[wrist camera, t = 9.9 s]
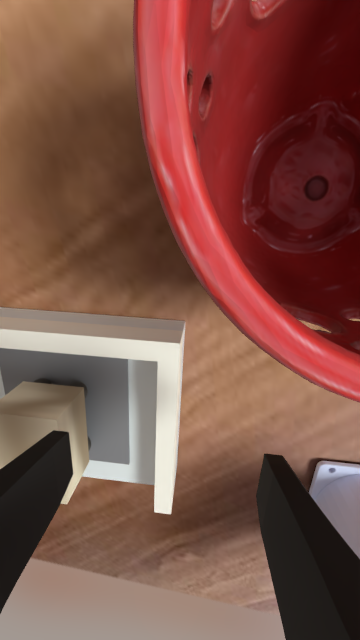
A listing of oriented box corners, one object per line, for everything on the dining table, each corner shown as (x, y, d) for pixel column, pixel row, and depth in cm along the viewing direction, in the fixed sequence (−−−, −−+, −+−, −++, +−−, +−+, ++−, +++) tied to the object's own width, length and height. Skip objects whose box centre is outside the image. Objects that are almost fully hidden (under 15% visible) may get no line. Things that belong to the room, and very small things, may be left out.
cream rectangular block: (91, 377, 17) (57, 419, 13) (96, 448, 19) (66, 504, 15) (35, 371, 17) (-16, 411, 13) (45, 442, 19) (2, 495, 15)
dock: (185, 321, 17) (180, 343, 14) (176, 465, 21) (171, 514, 18) (-31, 304, 19) (-91, 321, 15) (0, 444, 22) (-42, 486, 19)
